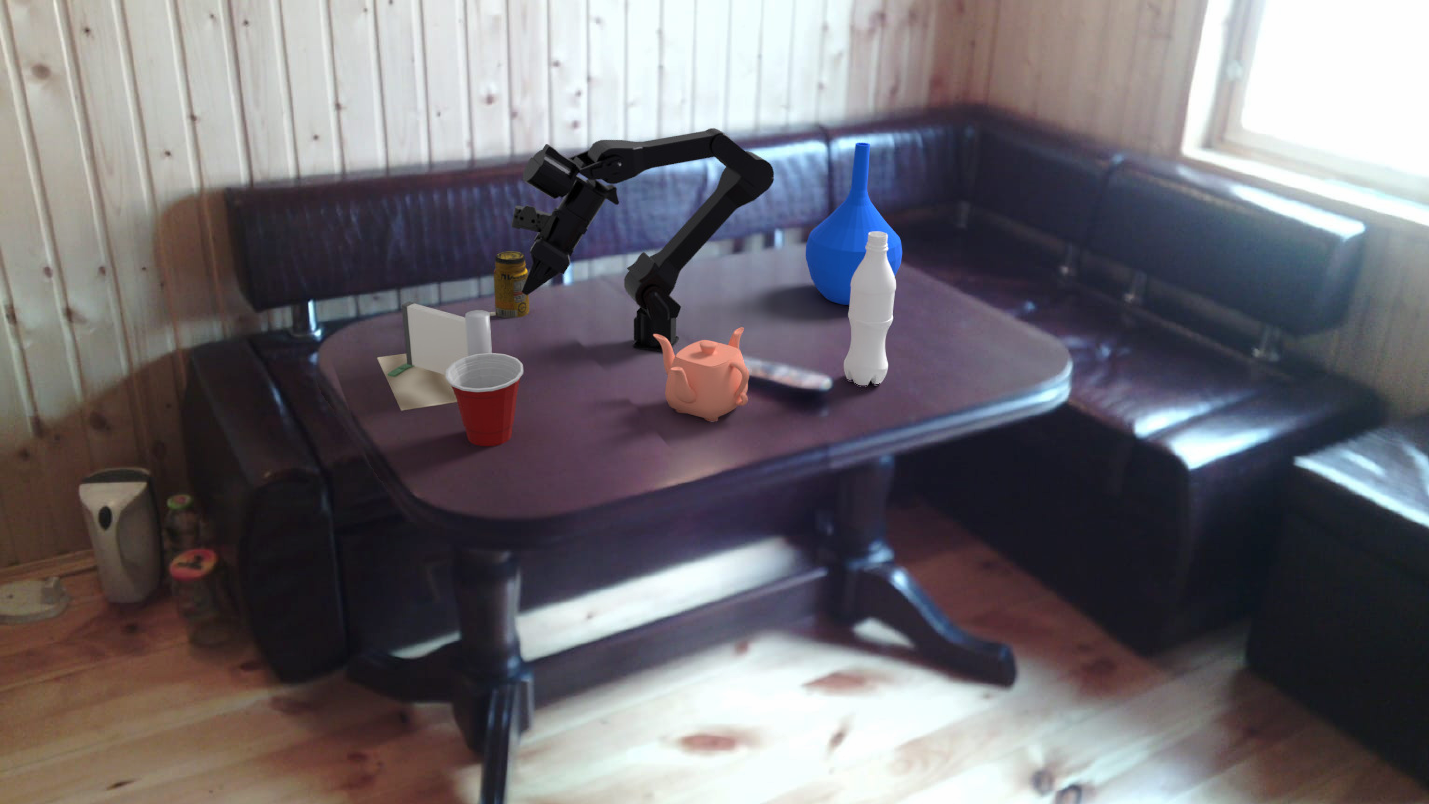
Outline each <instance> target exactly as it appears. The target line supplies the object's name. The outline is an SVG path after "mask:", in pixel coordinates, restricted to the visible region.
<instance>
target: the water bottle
mask: <svg viewBox="0 0 1429 804" xmlns="http://www.w3.org/2000/svg"><path fill="white" fill-rule="evenodd" d="M887 238H888V236H887V234H886V233H884V232H879V231H873V232H870V233H869V235H868V242H867V245H866V246H865V249H866V254H865V257H864V259H863V260H862V262H861V263H860V265H859V266H858V268H857V269H856V271H855V273H854V275H853V277H852V280H851V294H850V305H848V306H849V307H848V308H849V309H848V312H847V317H848V318H849V319H848V320H849V324H850V332H851V335H850V336H851V337H850V345H849V349H848V352H847V355H846V357H845V359H844V361H843V371H844V374H845V377H846V380H847V379H849V380H851V379H853V381H852V382H853V383H854V384H855V383H856V384H858V385H867V386H868V385H869V384H870V382H871V384H873V383H874V384H879V383H880V384H881V383H882V382H883V381H884V379H885V378H886V376H887V374H888V369H889V362H888V359H887V354H886V338H887V334H888V332H889V328H890V327H891V325H892V323H893V320H894V316H893V311H894V303H895V302H894V301H895V294H896V293H895V292H896V289H897V281H896V278H895V277H896V275H895V276H894V274H893V271H892V269H891V267H890V264H889V262H888V259H887V254H886V251H888V247H887V246H888V244H887ZM849 380H848V381H849ZM856 384H855V385H856ZM880 384H879V385H880ZM858 385H857V386H858Z"/></svg>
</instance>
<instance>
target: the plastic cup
mask: <svg viewBox="0 0 1429 804" xmlns="http://www.w3.org/2000/svg"><path fill="white" fill-rule="evenodd" d="M523 375H524V364H523V363H522V362H521V361H520V360H519V359H518V358H517V357H514V356H511V355H508V354H505V353H495V352H492V353H485V354H476V355H472V356H468V357H464V358H462V359H460V360H458V361H456V362H454V363H452V364H451V366H450V367H449V368H448V369H447V370H446V380H447V381H448V382H449V383H450V384H451V386H452V389H453V391H454V394H455V395H456V399H457V402H456V403H457V405H458V409H459V413H460V418H461V420H462V425H463V427H464V429H465V433H466V436H467V440H468V441H469V442H470V443H471V444H473V445H476V446H481V447H495V446H499V445H503V444H505V443H507V442H509V440H510V439H511V438H512V434H513V425H514V422H515V414H516V407H517V406H516V405H517V397H518V391H519V385H520V380H521V377H522V376H523Z"/></svg>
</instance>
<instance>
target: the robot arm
mask: <svg viewBox="0 0 1429 804" xmlns="http://www.w3.org/2000/svg"><path fill="white" fill-rule="evenodd" d="M710 158H715V159H716V160H717V161H719V162H720V163H721V164H722V165H723V166H725V168H724V169H723V170H722V172H721V175H720V177H719V180H718V184H717V186H716V189H715V190H714V191H713V192H712V193H711V195H710V196H709V197H708V198H707V199H706V201H704V202H703V203H702V205H701V206H700V207H699V208H698V209H697V210H696V211H695V212H694V214H693V215H692V216H691V217H690V218H689V219H688V220H687V221H686V222H685V224H684V225H683V226H682V227H681V228H680V229H678V231H676V234H674V235H673V237H672V238H671V239H669V241H668V242H667V243H666V244H665V245H664V247H662V249H661V250H659V251H658V252H656V253H655V254H654V253H653V254H652V255H650V256H649V255H648V254H647V253H646V252H645V251H643V252H641V254H639V256H638V257H637V259H636V260H635V261H634V263H632V264H631V265H630V266H628V267H626V269H627V274H625V276H624V279H623V281H624V283H623V285H624V286H623V287H624V290H625V292H626V293H627V295H628V296H629V297H630V298H631V299H632V300H633V301H634V302H635V304H636V305H638V306H639V308H638V309H637V310H636V316H635V317H634V318H633V340H634V343H633V345H632V347H633V348H635V349H640V350H641V349H642V350H648V351H654V352H655V351H656V352H662V353H663V350H662V346H661V344H660V342H659V341H658V340H657V339H656V338H655V337H654V336H653V334H659V335H662V336H664V337H665V338H667V339H668V341H669V342H670V344H671V346H672V348H673V347H674V346H675V345H676V344H677V343H678V341H679V340H680V337H679V336H678V335H677V318H678V317H679V314H680V311H681V309H682V306H681V305H680V304H679V303H678V302H677V301H676V300H675V299H674V298H673V297H672V296H671V294H672V292H673V290H674V289H675V287H676V283H677V281H678V278H679V276H680V272H681V271H682V270H683V268H684V267H686V265H687V264H688V263H689V262H690V261H691V260H692V259H693V257H695V255H696V254H697V253H698V252H699V251H700V250H701V249H702V248H703V247H704V246H705V244H706V243H707V242H708V241H709V240H710V239H711V238H712V237H713V235H714V234H715V233H717V231H718V230H719V229H720V228H721V227H722V226H723V225H724V224H725V222H727V220H728V219H729V218H730V217H731V216H732V215H733V214H734V212H735V211H736V210H738V209H740V208H741V207H743V206H745V205H748V204H750V203H752V202H754V201H755V200H757V199H758V198H759V197H761V196H762V195H763V194H764V193H765V192H767V191H768V190H769V189H770V188H771V187H772V185H773V183H774V182H775V179H774V178H775V177H774V176H775V171H774V167H773V166H772V164H771V163H770V162H768V161H767V160H766V159H764V158H763V157H761V156H759V155H757V154H756V153H754V152H753V151H749V150H744V148H742V147H741V146H740V145H738V143H735V141H733V140H732V139H731V138H730V136H729V135H728V134H726V133H725V132H723V131H721V130H720V129H718V128H714V127H713V128H708V129H706V130H703V131H697V132H692V133H691V132H690V133H685V134H680V135H674V136H673V135H672V136H668V137H667V136H666V137H663V138H658V139H657V138H656V139H651V140H644V141H632V140H625V139H600V140H596V141H595V142H593V143H592V144H591V146H590V147H589V149H587V150H585V151H583V152H580V153H578V154H575V155H573V156H570V157H566V156H564V155H563V154H562V153H560V152H558V150H556V149H555V148H554V147H553V146H551V145H550V144H548V143H545V145H544V146H543V148H542V149H541V150H539V151H537V152H536V153H535V154H534V155H533V156H532V157H530V158H529V160H528V162H527V163H526V166H525V168H524V171H523V173H522V180H523V182H525V183H527V185H530V186H532V187H534V189H536V190H538V191H539V192H541V193H542V194H545V195H546V196H548V197H550V198H551V199H554V200H555V199H556V200H557V199H558V198H561V199H562V200H561V202H560V204H559V205H558V206H557V207H554V208H553V209H552V212H551V213H550V212H546V211H542V210H538V209H537V208H536V206H531V205H528V204H526V205H524V206H522V205H515V206H514V209H513V215H512V221H511V224H510V226H511V228H513V229H518V230H521V229H523V230H528V231H531V232H536V233H537V235H536V236H535V237H534V240H533V241H534V243H533V245H531V247H530V250H529V254H530V257H531V260H532V264H531V267H530V270H529V271H528V277H527V279H526V282H525V284H524V287H523V289H522V293H524V294H525V295H530V294H531V293H533V292H535V291H536V290H537V289H538V288H540V287H541V286H543V285H545V284H546V283H547V282H549V281H550V280H552V279H553V278H554V277H556V276H558V275H559V274H563V275H564V274H565V273H566V271H567V270H568V268H569V267H570V265H571V258H570V257H571V256H572V254H573V253H574V251H575V248H576V246H577V245H578V244H579V242H580V240H581V239H582V237H583V236H584V235H586V232H588V229H589V227H590V225H591V223H592V222H593V220H594V219H595V218H596V216H597V214H598V212H599V211H600V210H601V208H602V207H603V205H604V203H605V201H607V200H608V201H609V202H611V203H612V204H614V205H616V206H617V205H618V206H619V204H620V201H619V198H618V197H619V196H618V192H617V190H618V188H617V187H616V186H615V185H616V184H619V183H622V182H625V181H627V180H631V179H634V178H636V177H638V176H639V175H640V174H641V173H643V172H645V171H647V170H650V169H654V168H659V167H666V166H670V165H677V164H682V163H687V162H693V161H698V160H705V159H710ZM578 174H580V175H581V176H583V177H584V178H586V179H584V178H583V177H581V176H579V175H578ZM599 180H602V181H603V182H604V183H607V184H608V185H605V184H604V183H602V182H600V181H599Z"/></svg>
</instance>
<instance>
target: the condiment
mask: <svg viewBox="0 0 1429 804" xmlns="http://www.w3.org/2000/svg"><path fill="white" fill-rule="evenodd" d="M494 262H495V263H494V264H495V265H494V266H495V269H494V270H493V288H494V289H493V290H494V307H495V308H494V309H495V311H491V312H490V311H488V312H489V314H490V317H493V316H498V317H501V318H504V319H517V318H521V317H522V318H523V317H525V316H527V315H528V314H529V312H530V296H529V295H530V294H529V295H525V294H524V293H522V289H523V287H524V284H525V282H526V279H527V277H528V274H529V271H528V269H527V268H526V266H527V265H526V257H525V255H524V253H521V252H520V251H511V250H510V251H503V252H499V253H497V254H496V255H495V257H494Z"/></svg>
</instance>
